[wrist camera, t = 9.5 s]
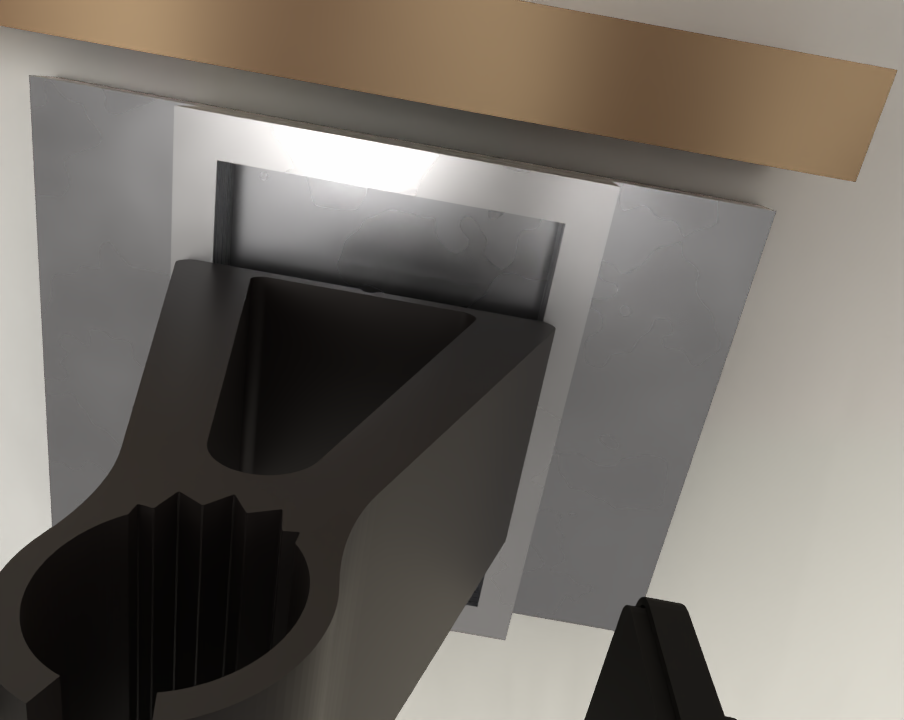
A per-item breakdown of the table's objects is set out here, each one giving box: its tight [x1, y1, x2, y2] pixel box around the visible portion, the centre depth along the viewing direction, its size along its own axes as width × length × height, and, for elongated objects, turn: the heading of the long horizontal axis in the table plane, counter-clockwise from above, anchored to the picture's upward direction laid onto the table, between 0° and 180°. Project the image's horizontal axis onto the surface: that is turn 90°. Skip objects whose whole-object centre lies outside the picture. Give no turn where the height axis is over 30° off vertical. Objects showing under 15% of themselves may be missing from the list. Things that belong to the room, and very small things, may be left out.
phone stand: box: [0, 259, 556, 720], centre depth 12 cm, size 9×6×12 cm, turn 80°
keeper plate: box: [29, 75, 776, 640], centre depth 18 cm, size 18×13×2 cm
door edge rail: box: [0, 0, 897, 182], centre depth 14 cm, size 22×2×4 cm, turn 80°
